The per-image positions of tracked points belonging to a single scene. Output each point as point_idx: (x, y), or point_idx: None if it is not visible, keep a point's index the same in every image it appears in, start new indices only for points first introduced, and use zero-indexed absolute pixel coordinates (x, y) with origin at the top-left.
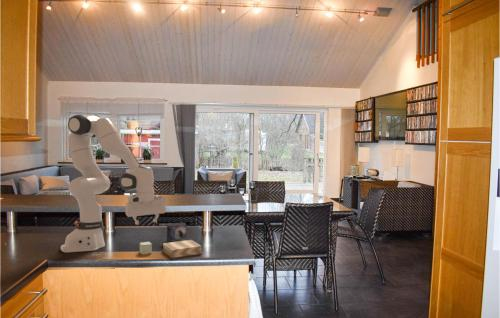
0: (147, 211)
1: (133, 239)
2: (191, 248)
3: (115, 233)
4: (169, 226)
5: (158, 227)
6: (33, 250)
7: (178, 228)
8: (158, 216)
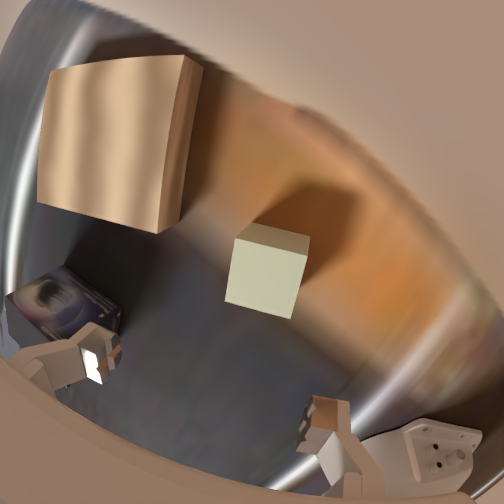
0: (112, 496)
1: (223, 440)
2: (88, 64)
3: None
4: None
5: None
6: (489, 466)
7: (36, 311)
8: (33, 346)
